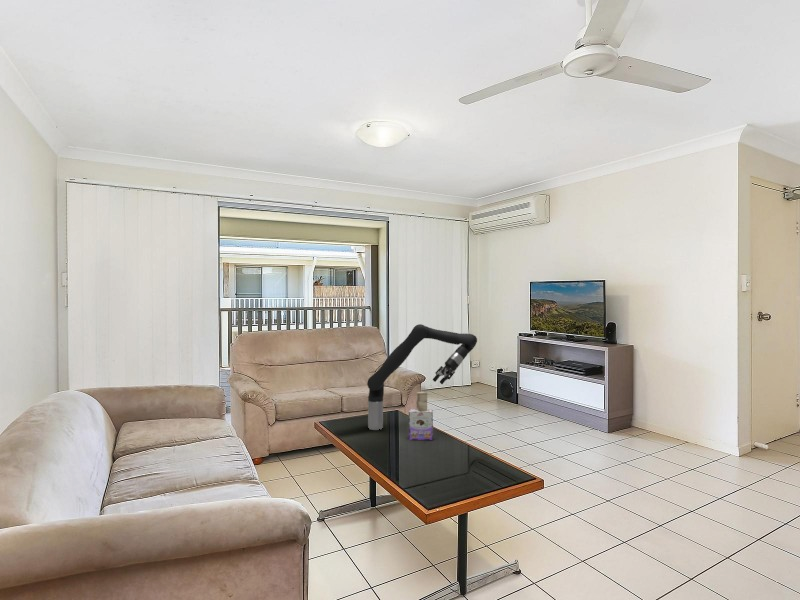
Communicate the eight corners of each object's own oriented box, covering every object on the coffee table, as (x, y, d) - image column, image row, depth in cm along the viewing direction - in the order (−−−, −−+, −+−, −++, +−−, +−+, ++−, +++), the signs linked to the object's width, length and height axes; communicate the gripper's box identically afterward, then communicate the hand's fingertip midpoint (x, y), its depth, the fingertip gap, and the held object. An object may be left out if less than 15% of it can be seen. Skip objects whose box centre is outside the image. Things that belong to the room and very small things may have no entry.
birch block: (416, 409, 259) (416, 392, 259) (423, 408, 261) (423, 391, 261) (420, 411, 255) (420, 393, 255) (427, 410, 257) (427, 393, 257)
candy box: (432, 437, 260) (433, 409, 260) (432, 440, 254) (432, 411, 254) (409, 436, 262) (409, 408, 262) (408, 439, 256) (408, 411, 256)
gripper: (444, 355, 272) (427, 375, 268) (456, 358, 259) (439, 379, 255) (451, 364, 275) (435, 384, 270) (464, 367, 262) (447, 388, 257)
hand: (437, 382), depth 262 cm, fingers open, 8 cm apart
